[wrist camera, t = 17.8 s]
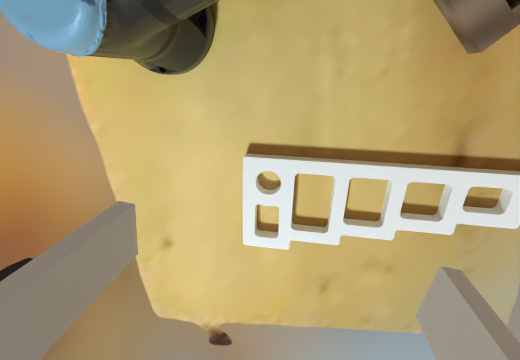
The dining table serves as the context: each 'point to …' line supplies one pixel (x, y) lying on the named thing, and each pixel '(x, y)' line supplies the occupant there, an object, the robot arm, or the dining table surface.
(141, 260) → the dining table surface
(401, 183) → the holder
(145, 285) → the dining table surface
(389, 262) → the dining table surface
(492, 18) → the walnut board
